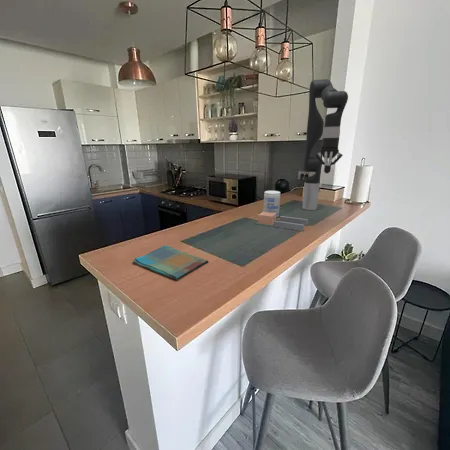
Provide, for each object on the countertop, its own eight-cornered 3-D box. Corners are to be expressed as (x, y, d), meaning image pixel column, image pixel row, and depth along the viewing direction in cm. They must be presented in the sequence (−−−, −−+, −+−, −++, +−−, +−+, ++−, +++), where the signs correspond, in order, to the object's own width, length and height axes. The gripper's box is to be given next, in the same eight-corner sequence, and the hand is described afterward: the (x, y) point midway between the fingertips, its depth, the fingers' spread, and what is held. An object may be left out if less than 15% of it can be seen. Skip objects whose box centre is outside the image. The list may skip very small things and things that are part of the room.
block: (262, 220, 143) (262, 211, 141) (275, 222, 139) (276, 213, 138) (257, 223, 137) (258, 214, 136) (271, 225, 134) (272, 216, 132)
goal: (262, 218, 145) (262, 217, 145) (279, 220, 141) (279, 219, 140) (255, 224, 136) (255, 223, 135) (272, 226, 131) (272, 225, 131)
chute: (280, 220, 140) (280, 215, 139) (307, 224, 133) (308, 219, 132) (273, 226, 131) (274, 221, 130) (302, 231, 124) (303, 225, 123)
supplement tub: (267, 218, 144) (268, 193, 140) (260, 214, 153) (261, 191, 148) (282, 217, 147) (283, 192, 142) (274, 213, 156) (275, 189, 151)
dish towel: (166, 249, 106) (166, 243, 106) (209, 263, 93) (209, 257, 93) (132, 264, 93) (131, 258, 92) (176, 283, 80) (175, 276, 79)
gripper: (346, 136, 121) (341, 173, 127) (318, 137, 127) (314, 171, 133) (345, 136, 115) (340, 174, 120) (315, 137, 121) (312, 173, 126)
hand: (326, 173), depth 126 cm, fingers closed
